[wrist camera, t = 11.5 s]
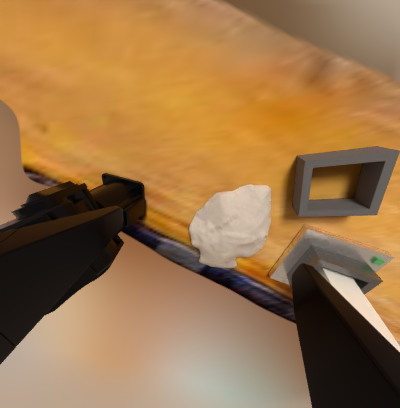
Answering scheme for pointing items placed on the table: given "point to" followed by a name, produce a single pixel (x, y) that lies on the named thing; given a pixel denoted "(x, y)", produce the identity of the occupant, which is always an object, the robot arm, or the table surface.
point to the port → (331, 257)
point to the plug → (357, 300)
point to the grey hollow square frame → (366, 188)
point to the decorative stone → (232, 225)
